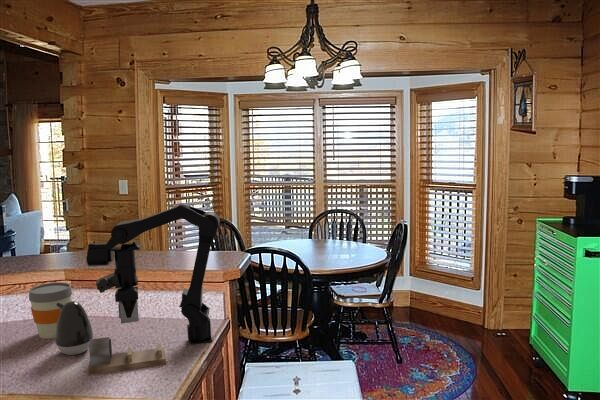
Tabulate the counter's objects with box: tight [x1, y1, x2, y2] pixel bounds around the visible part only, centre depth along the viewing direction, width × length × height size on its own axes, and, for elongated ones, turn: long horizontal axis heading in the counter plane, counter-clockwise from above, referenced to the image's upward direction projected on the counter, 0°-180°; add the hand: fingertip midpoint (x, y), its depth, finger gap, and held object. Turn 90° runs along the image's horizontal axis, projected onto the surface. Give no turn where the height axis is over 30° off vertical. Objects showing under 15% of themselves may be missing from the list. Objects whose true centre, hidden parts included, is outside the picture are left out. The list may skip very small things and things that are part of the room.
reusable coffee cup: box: [28, 281, 73, 340], centre depth 172 cm, size 13×13×15 cm
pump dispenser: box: [54, 300, 94, 356], centre depth 157 cm, size 10×10×15 cm
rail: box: [87, 336, 167, 376], centre depth 149 cm, size 20×8×8 cm, turn 107°
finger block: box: [117, 300, 140, 324], centre depth 161 cm, size 5×4×6 cm
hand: (129, 315), depth 162 cm, fingers closed on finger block, 4 cm apart
